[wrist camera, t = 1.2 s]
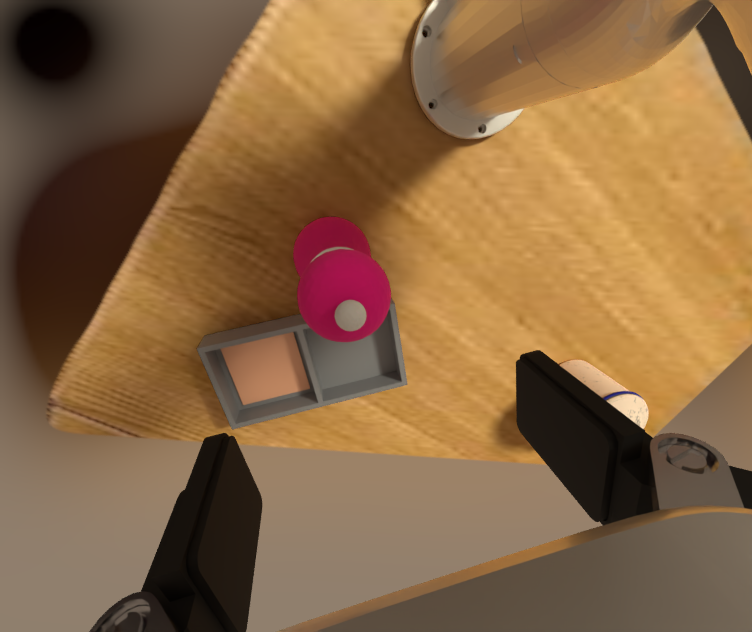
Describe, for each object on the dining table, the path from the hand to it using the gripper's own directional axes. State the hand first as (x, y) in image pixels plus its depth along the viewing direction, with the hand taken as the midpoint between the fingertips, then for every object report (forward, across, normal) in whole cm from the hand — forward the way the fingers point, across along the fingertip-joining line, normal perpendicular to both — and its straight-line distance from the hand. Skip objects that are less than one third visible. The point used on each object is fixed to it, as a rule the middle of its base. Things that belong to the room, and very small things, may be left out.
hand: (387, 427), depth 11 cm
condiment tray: (+28, +5, +12) cm, 31 cm away
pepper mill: (+28, 0, 0) cm, 29 cm away
